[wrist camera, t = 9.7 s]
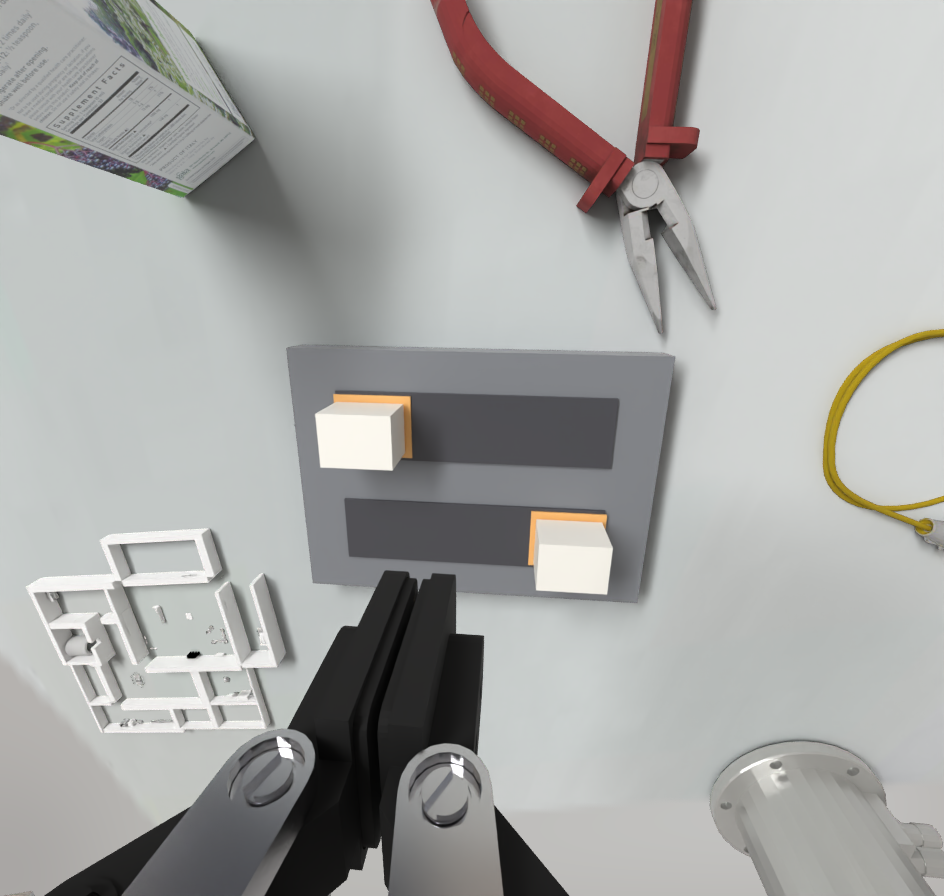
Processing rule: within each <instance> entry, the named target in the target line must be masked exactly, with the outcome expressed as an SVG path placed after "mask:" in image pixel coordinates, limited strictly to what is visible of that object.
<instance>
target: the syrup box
mask: <svg viewBox="0 0 944 896" xmlns="http://www.w3.org/2000/svg"><path fill="white" fill-rule="evenodd" d="M0 135H3V136H6V137H9V138H12V139H14V140H17V141H20V142H23V143H26V144H29V145H32V146H34V147H37V148H40V149H43V150H46V151H49V152H52V153H55V154H58V155H61V156H64V157H66V158H69V159H72V160H75V161H78V162H81V163H84V164H87V165H90V166H92V167H95V168H98V169H101V170H104V171H107V172H110V173H113V174H116V175H119V176H121V177H124V178H127V179H130V180H132V181H135V182H139V183H141V184H144V185H147V186H150V187H153V188H156V189H159V190H161V191H164V192H167V193H170V194H173V195H175V196H178V197H184V196H186V195H188V194H189V193H190V192H191V191H192V190H194V189H195V188H196V187H197V186H199V185H200V184H201V183H202V182H204V181H205V180H206V179H207V178H208V177H210V176H211V175H212V174H213V173H215V172H216V171H217V170H218V169H220V168H221V167H222V166H223V165H224V164H226V163H227V162H228V161H229V160H230V159H232V158H233V157H234V156H235V155H236V154H237V153H239V152H240V151H241V150H242V149H243V148H245V147H246V146H247V145H248V144H249V143H251V142H252V141H253V140H254V139H255V137H254V135H253V133H252V131H251V129H250V128H249V126H248V125H247V123H246V121H245V120H244V118H243V117H242V115H241V113H240V112H239V110H238V108H237V107H236V105H235V103H234V102H233V100H232V99H231V97H230V95H229V94H228V92H227V91H226V89H225V88H224V86H223V84H222V83H221V81H220V79H219V78H218V76H217V74H216V73H215V71H214V70H213V68H212V66H211V65H210V63H209V61H208V60H207V58H206V56H205V55H204V53H203V51H202V50H201V48H200V46H199V45H198V43H197V42H196V40H195V38H194V37H193V35H192V34H191V33H190V31H189V30H188V29H186V28H185V27H184V26H183V25H182V24H181V23H180V22H179V21H177V20H176V19H175V18H174V17H173V16H172V15H171V14H170V13H168V12H167V11H166V10H165V9H164V8H163V7H162V6H160V5H159V4H158V3H157V2H156V1H155V0H0Z"/></svg>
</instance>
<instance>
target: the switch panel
mask: <svg viewBox="0 0 944 896" xmlns="http://www.w3.org/2000/svg"><path fill="white" fill-rule="evenodd" d="M286 350H287V359H288V368H289V376H290V385H291V394H292V403H293V412H294V420H295V429H296V438H297V447H298V456H299V464H300V473H301V482H302V491H303V500H304V508H305V517H306V526H307V535H308V544H309V552H310V561H311V570H312V579H313V583H320V584H336V585H352V586H369V587H377V585H378V583H379V581H380V579H381V577H382V575H383V573H384V571H385V570H391V571H407V572H409V574H410V578H416V579H417V582H418V590H419V589H420V586H421V583H422V580H423V579H431V575H432V573H440V574H455V575H456V592H466V593H483V594H499V595H515V596H532V597H548V598H564V599H580V600H597V601H613V602H629V603H637V602H638V595H639V589H640V582H641V576H642V569H643V563H644V557H645V550H646V544H647V537H648V531H649V524H650V518H651V511H652V505H653V498H654V492H655V485H656V479H657V472H658V466H659V459H660V453H661V446H662V440H663V433H664V427H665V420H666V414H667V407H668V401H669V394H670V388H671V381H672V375H673V368H674V362H675V356H672V355H669V354H666V353H651V352H606V351H561V350H515V349H470V348H424V347H379V346H333V345H298V346H293V347H288V348H286ZM335 402H358V403H390V404H403V407H404V436H405V454H404V455H403V456H402V458H401V459H400V461H399V462H398V464H397V465H396V467H395V468H394V469H393V471H391V470H368V469H344V468H320V458H319V448H318V438H317V428H316V418H315V414H316V413H317V412H319V411H321V410H323V409H325V408H326V407H328V406H330V405H332V404H333V403H335ZM536 519H542V520H562V521H583V522H602V523H603V526H604V528H605V531H606V533H607V535H608V538H609V540H610V542H611V545H612V547H613V551H612V559H611V567H610V575H609V583H608V591H607V595H605V594H589V593H572V592H556V591H539V590H536V584H535V574H534V563H533V559H534V544H535V529H536Z"/></svg>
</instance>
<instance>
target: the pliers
mask: <svg viewBox="0 0 944 896" xmlns="http://www.w3.org/2000/svg"><path fill="white" fill-rule="evenodd" d="M430 1H431V3H432V6H433V9H434V11H435V14H436V16H437V19H438V22H439V24H440V27H441V30H442V32H443V35H444V37H445V40H446V43H447V45H448V48H449V50H450V53H451V56H452V58H453V61H454V63H455V64H456V66H457V67H458V69H459V71H460V72H461V74H462V75H463V77H464V78H465V79H466V81H467V82H468V83H469V84H470V85H471V86H472V88H473V89H474V90H475V91H476V92H477V93H478V94H479V95H480V96H481V97H482V98H483V99H484V100H485V101H486V102H487V103H488V104H489V105H490V106H491V107H492V108H494V109H495V110H496V111H498V112H499V113H500V114H501V115H503V116H504V117H505V118H507V119H508V120H509V121H511V122H512V123H513V124H514V125H516V126H517V127H518V128H520V129H521V130H522V131H524V132H525V133H526V134H528V135H529V136H530V137H531V138H533V139H534V140H535V141H537V142H538V143H539V144H541V145H542V146H543V147H544V148H546V149H547V150H548V151H550V152H551V153H552V154H554V155H555V156H556V157H558V158H559V159H560V160H561V161H563V162H564V163H565V164H567V165H568V166H569V167H571V168H572V169H573V170H574V171H576V172H577V173H578V174H580V175H581V176H582V177H584V178H585V179H586V180H587V181H589V182H590V183H591V184H590V186H589V187H588V189H587V190H586V192H585V193H584V195H583V196H582V198H581V199H580V201H579V202H578V204H577V205H576V206H577V207H578V208H580V209H581V210H582V211H584V212H585V213H587V211H588V210H589V209H590V208H591V206H592V205H593V204H594V202H595V201H596V199H597V198H598V197H599V195H600V194H601V192H602V193H604V194H605V195H606V196H607V197H610V196H611V195H612V194H613V193H614V192H615V191H616V199H617V205H618V210H619V216H620V222H621V227H622V233H623V238H624V243H625V248H626V253H627V257H628V260H629V263H630V265H631V267H632V270H633V272H634V275H635V277H636V279H637V282H638V284H639V287H640V289H641V291H642V294H643V296H644V299H645V301H646V303H647V306H648V308H649V311H650V313H651V315H652V318H653V320H654V322H655V325H656V327H657V330H658V332H659V333H660V334H661V333H663V328H662V317H661V306H660V296H659V285H658V275H657V264H656V256H655V249H654V241H653V238H651V236H650V229H649V222H648V215H647V211H649V210H652V209H658V211H659V212H660V214H661V216H662V217H663V219H664V220H665V222H666V224H667V225H666V228H665V229H664V231H663V232H662V233H661V234H662V236H663V237H664V239H665V241H666V242H667V244H668V245H669V247H670V249H671V250H672V252H673V253H674V255H675V256H676V258H677V259H678V261H679V262H680V264H681V265H682V267H683V268H684V270H685V271H686V273H687V274H688V276H689V277H690V278H691V280H692V281H693V283H694V284H695V286H696V287H697V289H698V290H699V292H700V293H701V295H702V296H703V297H704V299H705V300H706V302H707V303H708V305H709V306H710V308H711V309H712V310H715V309H716V305H715V302H714V298H713V294H712V290H711V287H710V283H709V279H708V276H707V272H706V268H705V265H704V261H703V257H702V254H701V250H700V246H699V243H698V239H697V235H696V232H695V228H694V225H693V223H692V220H691V218H690V216H689V214H688V212H687V210H686V208H685V206H684V204H683V202H682V200H681V198H680V197H679V195H678V193H677V191H676V190H675V188H674V186H673V185H672V183H671V181H670V179H669V178H668V176H667V174H666V173H665V171H664V169H663V168H662V166H663V165H664V164H665V163H666V162H667V161H668V159H669V158H676V159H683V158H685V157H686V156H688V155H689V154H690V153H691V152H693V151H694V150H695V149H696V148H697V144H698V138H699V132H700V130H699V129H698V128H694V127H673V122H674V116H675V110H676V103H677V97H678V90H679V84H680V77H681V71H682V64H683V58H684V52H685V45H686V39H687V32H688V26H689V19H690V13H691V6H692V0H656V2H655V9H654V16H653V24H652V31H651V38H650V46H649V53H648V60H647V68H646V75H645V83H644V90H643V97H642V105H641V112H640V119H639V127H638V134H637V141H636V149H635V157H634V162H633V161H631V160H630V159H629V158H627V157H626V155H625V154H624V153H623V152H622V151H620V150H619V149H618V148H616V147H613V146H612V145H611V144H610V143H608V142H607V141H606V140H605V139H603V138H602V137H601V136H599V135H598V134H597V133H596V132H594V131H593V130H592V129H591V128H589V127H588V126H587V125H585V124H584V123H583V122H582V121H580V120H579V119H578V118H576V117H575V116H574V115H573V114H571V113H570V112H569V111H568V110H566V109H565V108H564V107H562V106H561V105H560V104H559V103H557V102H556V101H555V100H553V99H552V98H551V97H550V96H548V95H547V94H546V93H545V92H543V91H542V90H541V89H539V88H538V87H537V86H536V85H534V84H533V83H532V82H531V81H529V80H528V79H527V78H525V77H524V76H523V75H522V74H520V73H519V72H518V71H516V70H515V69H514V68H513V67H511V66H510V65H509V64H508V63H507V62H506V61H505V60H504V59H502V58H501V57H500V56H499V55H498V54H497V52H496V51H495V50H494V49H493V48H492V47H491V46H490V45H489V43H488V42H487V41H486V39H485V38H484V37H483V35H482V34H481V32H480V30H479V29H478V27H477V26H476V24H475V22H474V20H473V18H472V16H471V14H470V12H469V9H468V6H467V4H466V1H465V0H430ZM632 167H633V168H632ZM650 207H651V208H650Z"/></svg>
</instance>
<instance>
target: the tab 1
mask: <svg viewBox="0 0 944 896" xmlns="http://www.w3.org/2000/svg"><path fill="white" fill-rule="evenodd" d="M315 418H316V428H317V438H318V448H319V458H320V468H344V469H368V470H391V471H393V469H394V468H395V467H396V465H397V464H398V462H399V461H400V459H401V458H402V456H403V455H404V454H405V436H404V407H403V404H390V403H358V402H335V403H333V404H332V405H330V406H328V407H326V408H325V409H323V410H321V411H319V412H317V413H316V414H315Z"/></svg>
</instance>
